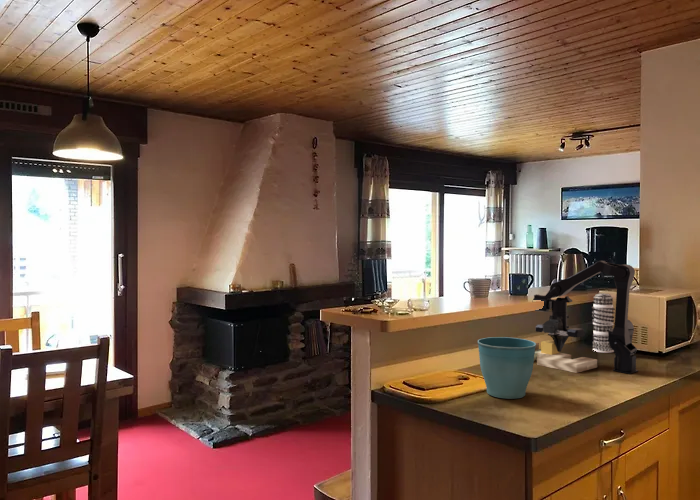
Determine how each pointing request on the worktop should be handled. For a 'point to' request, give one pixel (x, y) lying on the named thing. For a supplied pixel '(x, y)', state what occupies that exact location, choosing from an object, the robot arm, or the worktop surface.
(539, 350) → the board
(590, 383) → the worktop surface
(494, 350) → the flower pot
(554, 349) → the ochre block
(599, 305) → the decorative candle
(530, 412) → the worktop surface
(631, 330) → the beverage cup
